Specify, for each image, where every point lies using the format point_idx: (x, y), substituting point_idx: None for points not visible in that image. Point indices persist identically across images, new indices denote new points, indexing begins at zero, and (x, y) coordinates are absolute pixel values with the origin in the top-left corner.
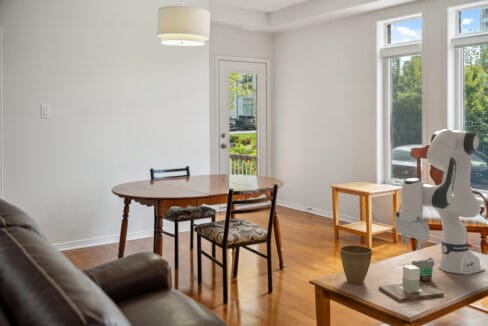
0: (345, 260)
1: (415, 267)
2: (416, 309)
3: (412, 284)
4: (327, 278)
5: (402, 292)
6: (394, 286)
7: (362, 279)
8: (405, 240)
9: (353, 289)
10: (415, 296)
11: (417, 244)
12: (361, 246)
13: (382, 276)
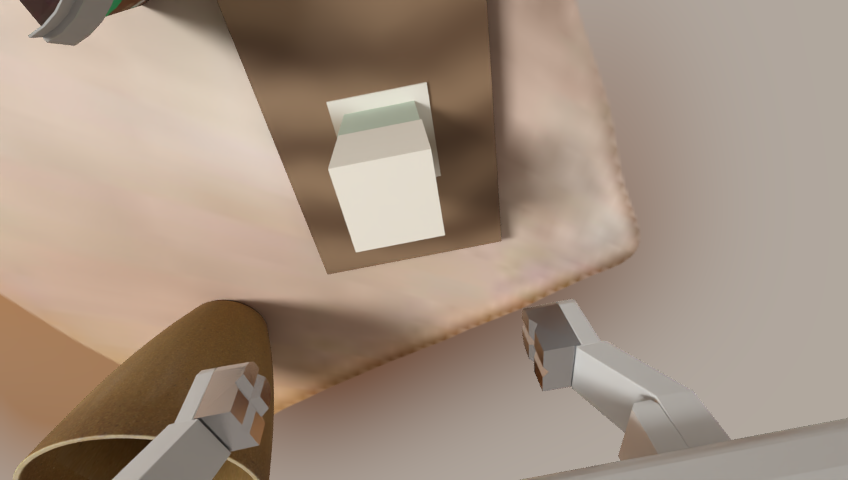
0: (240, 473)
1: (405, 177)
2: (589, 195)
3: None
4: None
5: None
6: (334, 208)
7: (260, 328)
8: (254, 435)
9: (329, 347)
10: (494, 160)
11: (589, 399)
12: (23, 469)
13: (93, 186)
